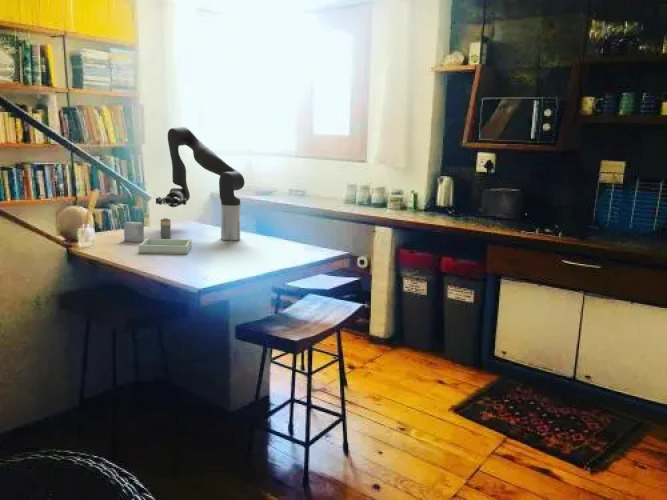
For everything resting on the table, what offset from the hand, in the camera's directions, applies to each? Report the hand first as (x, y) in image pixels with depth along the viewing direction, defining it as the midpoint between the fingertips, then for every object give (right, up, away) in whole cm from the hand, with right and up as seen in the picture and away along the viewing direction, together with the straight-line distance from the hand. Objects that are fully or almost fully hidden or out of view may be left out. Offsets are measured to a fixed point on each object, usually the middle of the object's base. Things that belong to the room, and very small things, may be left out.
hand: (169, 203), depth 270 cm
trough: (+5, -23, -23) cm, 32 cm away
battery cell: (+1, -19, -7) cm, 20 cm away
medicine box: (-15, -18, -6) cm, 24 cm away
